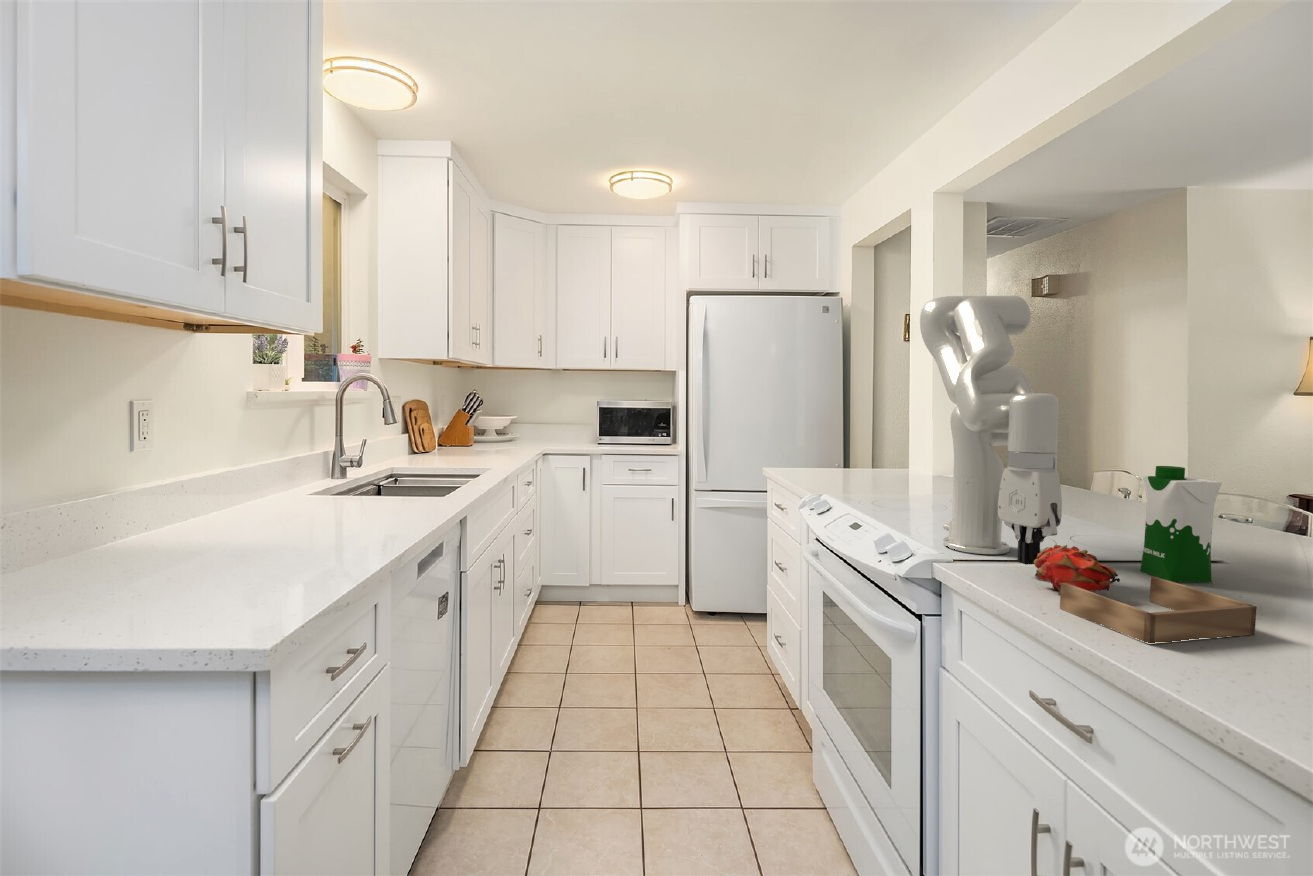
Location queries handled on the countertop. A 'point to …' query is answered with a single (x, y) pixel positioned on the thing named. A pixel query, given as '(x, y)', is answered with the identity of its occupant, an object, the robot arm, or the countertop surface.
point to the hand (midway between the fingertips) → (1028, 562)
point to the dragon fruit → (1073, 569)
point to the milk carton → (1178, 525)
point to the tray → (1165, 613)
